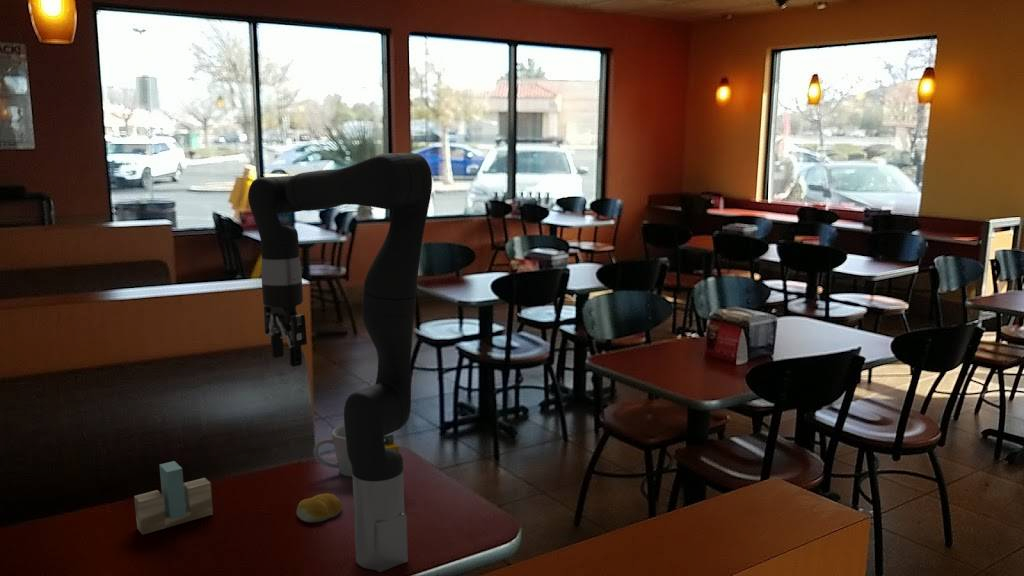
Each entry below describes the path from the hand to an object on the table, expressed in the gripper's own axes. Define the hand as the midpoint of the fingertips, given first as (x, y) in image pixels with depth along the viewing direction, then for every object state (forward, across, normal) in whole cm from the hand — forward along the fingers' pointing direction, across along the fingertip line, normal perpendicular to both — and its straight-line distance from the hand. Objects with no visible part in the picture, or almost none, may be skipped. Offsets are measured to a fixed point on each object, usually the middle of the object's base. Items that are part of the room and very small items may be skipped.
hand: (286, 361), depth 160 cm
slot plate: (+34, +16, +19) cm, 42 cm away
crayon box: (+34, +3, -22) cm, 41 cm away
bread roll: (+34, 0, -5) cm, 35 cm away
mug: (+34, +16, -20) cm, 43 cm away
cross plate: (+32, +16, +19) cm, 41 cm away
